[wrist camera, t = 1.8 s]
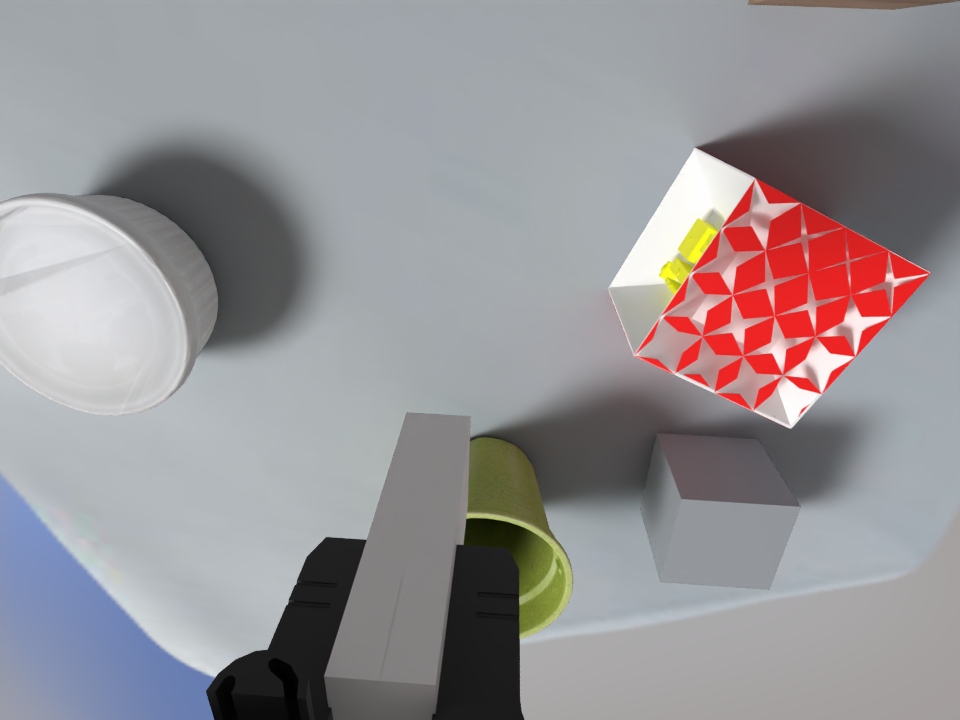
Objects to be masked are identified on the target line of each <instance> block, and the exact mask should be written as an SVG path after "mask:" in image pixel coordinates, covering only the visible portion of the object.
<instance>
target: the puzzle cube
mask: <svg viewBox="0 0 960 720" xmlns="http://www.w3.org/2000/svg"><path fill="white" fill-rule="evenodd" d="M930 274H931V273H930V271H928V270H926V269H924V268H922V267H920V266H918V265H917V264H915V263H913V262H911V261H909V260H907V259H905V258H904V257H902V256H900V255H898V254H896V253H894V252H892V251H891V250H888V249H887V248H885V247H883V246H881V245H879V244H877V243H875V242H874V241H872V240H870V239H868V238H866V237H864V236H863V235H861V234H859V233H857V232H855V231H853V230H851V229H850V228H848V227H845V226H843V225H842V224H840V223H838V222H837V221H835V220H833V219H831V218H829V217H827V216H825V215H824V214H822V213H820V212H818V211H816V210H814V209H812V208H811V207H809V206H807V205H805V204H803V203H801V202H799V201H797V200H795V199H793V198H791V197H790V196H788V195H786V194H784V193H782V192H780V191H779V190H777V189H775V188H773V187H771V186H769V185H767V184H766V183H764V182H762V181H760V180H758V179H756V178H754V177H752V176H750V175H748V174H746V173H744V172H742V171H740V170H738V169H737V168H735V167H733V166H731V165H729V164H727V163H725V162H723V161H721V160H719V159H717V158H715V157H713V156H711V155H709V154H707V153H705V152H703V151H701V150H699V149H697V148H694V150H693V152H692V154H691V155H690V157H689V158H688V160H687V162H686V163H685V165H684V167H683V168H682V170H681V171H680V173H679V175H678V176H677V178H676V180H675V181H674V183H673V184H672V186H671V188H670V189H669V191H668V192H667V194H666V196H665V197H664V199H663V201H662V202H661V204H660V205H659V207H658V209H657V210H656V212H655V214H654V215H653V217H652V218H651V220H650V222H649V223H648V225H647V226H646V228H645V230H644V231H643V233H642V235H641V236H640V238H639V239H638V241H637V243H636V244H635V246H634V248H633V249H632V251H631V252H630V254H629V256H628V257H627V259H626V260H625V262H624V264H623V265H622V267H621V269H620V270H619V272H618V273H617V275H616V277H615V278H614V280H613V282H612V283H611V285H610V286H609V288H608V292H609V295H610V297H611V300H612V302H613V305H614V307H615V310H616V313H617V315H618V318H619V320H620V323H621V325H622V328H623V331H624V333H625V336H626V338H627V340H628V343H629V346H630V348H631V351H632V353H633V356H635V357H637V358H639V359H641V360H643V361H645V362H648V363H650V364H652V365H654V366H656V367H658V368H660V369H663V370H665V371H667V372H669V373H671V374H674V375H676V376H678V377H680V378H682V379H685V380H687V381H689V382H691V383H693V384H695V385H698V386H700V387H702V388H704V389H706V390H708V391H710V392H713V393H715V394H717V395H719V396H721V397H723V398H725V399H728V400H730V401H732V402H734V403H736V404H738V405H740V406H743V407H745V408H747V409H749V410H751V411H753V412H755V413H757V414H759V415H761V416H763V417H765V418H767V419H770V420H772V421H774V422H776V423H778V424H781V425H783V426H785V427H787V428H790V429H791V428H792V427H793V426H794V425H795V424H796V423H797V422H798V421H799V420H800V418H801V417H802V416H803V415H804V414H805V413H806V412H807V411H808V409H809V408H810V407H811V406H812V405H813V404H814V403H815V402H816V401H817V399H818V398H819V397H820V396H821V395H822V394H823V393H824V392H825V391H826V389H827V388H828V387H829V386H830V385H831V384H832V383H833V382H834V381H835V379H836V378H837V377H838V376H839V375H840V374H841V373H842V372H843V371H844V369H845V368H846V367H847V366H848V365H849V364H850V363H851V362H852V360H853V359H854V358H855V357H856V356H857V355H858V354H859V353H860V352H861V351H862V349H863V348H864V347H865V346H866V345H867V344H868V343H869V342H870V341H871V339H872V338H873V337H874V336H875V335H876V334H877V333H878V332H879V331H880V329H881V328H882V327H883V326H884V325H885V324H886V323H887V322H888V320H889V319H890V318H891V317H892V316H893V315H894V314H895V313H896V312H897V310H898V309H899V308H900V307H901V306H902V305H903V304H904V303H905V302H906V300H907V299H908V298H909V297H910V296H911V295H912V294H913V293H914V292H915V290H916V289H917V288H918V287H919V286H920V285H921V284H922V283H923V282H924V280H925V279H926V278H927V277H928V276H929V275H930Z"/></svg>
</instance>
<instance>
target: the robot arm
mask: <svg viewBox="0 0 960 720" xmlns="http://www.w3.org/2000/svg"><path fill="white" fill-rule="evenodd" d="M470 419H471V416H457V415H440V414H424V413H406V417H405V420H404V423H403V426H402V429H401V433H400V436H399V439H398V442H397V445H396V449H395V452H394V455H393V458H392V461H391V464H390V468H389V471H388V474H387V477H386V480H385V484H384V487H383V490H382V493H381V496H380V500H379V503H378V506H377V509H376V512H375V516H374V519H373V522H372V525H371V528H370V531H369V535H368V538H367V540H360V539H346V538H331V537H326V538H325V539H324V540H323V541H322V542H321V543H320V544H319V545H318V546H317V547H316V548H315V549H314V550H313V551H312V552H311V553H310V554H309V555H308V556H307V558H306V560H305V563H304V565H303V568H302V570H301V572H300V575H299V577H298V579H297V584H296V585H295V586H294V589H293V591H292V594H291V596H290V598H289V603H288V605H286V608H285V610H284V612H283V615H282V617H281V619H280V622H279V624H278V627H277V629H276V631H275V634H274V636H273V638H272V641H271V643H270V645H269V648H268V650H261V651H255V652H252V653H250V654H248V655H245V656H243V657H241V658H238V659H236V660H235V661H233V662H232V663H231V664H230V665H228V666H227V667H226V668H225V669H223V670H222V671H221V672H220V673H219V674H218V675H217V676H216V678H215V679H214V681H213V682H212V684H211V685H210V686H209V688H208V689H207V691H206V693H207V696H208V700H209V703H210V706H211V709H212V713H213V716H214V720H524V717H523V715H522V711H521V704H520V622H519V568H518V566H517V564H516V562H515V560H514V558H513V556H512V554H511V552H510V550H509V548H501V547H486V546H472V545H463V544H464V535H465V526H466V517H467V508H468V481H469V450H470Z"/></svg>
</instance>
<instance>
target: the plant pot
mask: <svg viewBox="0 0 960 720" xmlns="http://www.w3.org/2000/svg"><path fill="white" fill-rule="evenodd" d="M463 545H472V546H486V547H501V548H509V550H510V552H511V554H512V556H513V558H514V560H515V562H516V564H517V566H518V568H519V622H520V639H522V638H525V637H527V636H530V635H533V634H535V633H537V632H539V631H540V630H542V629H544V628H546V627H547V626H548V625H550V624H551V623H552V622H553V621H554V620H555V619H557V618H558V617H559V615H560V614H561V613H562V611H563V610H564V609H565V607H566V605H567V603H568V602H569V599H570V596H571V593H572V588H573V574H572V568H571V564H570V561H569V558H568V556H567V554H566V552H565V550H564V549H563V547H562V546H561V545H560V543H559V542H558V541H557V540H556V539H555V537H554V535H553V533H552V532H551V530H550V529H549V525H548V522H547V518H546V514H545V511H544V507H543V503H542V500H541V496H540V492H539V488H538V483H537V480H536V476H535V472H534V469H533V466H532V464H531V463H530V461H529V460H528V458H527V456H526V455H525V453H524V452H523V451H522V450H520V449H519V448H518V447H516V446H515V445H513V444H511V443H509V442H506V441H504V440H500V439H496V438H476V439H474V440H472V441H470V450H469V481H468V508H467V517H466V526H465V535H464V544H463Z"/></svg>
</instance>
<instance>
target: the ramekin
mask: <svg viewBox="0 0 960 720" xmlns="http://www.w3.org/2000/svg"><path fill="white" fill-rule="evenodd" d="M217 312H218V294H217V287H216V284H215V281H214V276H213V274H212V272H211V270H210V267H209V264H208V263H207V261H206V260H205V258H204V256H203V254H202V252H201V251H200V250H199V249H198V247H197V246H196V244H195V243H194V242H193V240H192V239H191V238H190V237H189V236H188V235H187V234H186V233H185V232H184V231H183V230H182V229H180V228H179V227H178V226H177V225H176V224H175V223H174V222H172V221H171V220H170V219H168V218H167V217H166V216H164V215H162V214H160V213H159V212H157V211H156V210H154V209H152V208H149V207H147V206H145V205H144V204H142V203H137V202H135V201H133V200H131V199H128V198H121V197H117V196H106V195H81V196H71V195H65V194H56V193H37V194H29V195H23V196H19V197H15V198H11V199H8V200H6V201H3V202H0V363H1V364H2V365H3V366H4V367H5V368H6V369H7V370H8V371H9V372H10V373H12V374H13V375H14V376H15V377H16V378H18V379H19V380H20V381H22V382H23V383H24V384H26V385H27V386H28V387H30V388H32V389H33V390H35V391H36V392H38V393H40V394H42V395H43V396H45V397H47V398H49V399H51V400H53V401H55V402H57V403H60V404H62V405H64V406H67V407H70V408H73V409H76V410H80V411H83V412H88V413H93V414H98V415H104V416H115V415H130V414H135V413H139V412H144V411H147V410H149V409H152V408H154V407H156V406H158V405H159V404H161V403H163V402H164V401H165V400H167V399H168V398H169V397H170V396H172V395H173V394H174V393H175V392H176V391H177V390H178V389H179V388H180V387H181V385H182V384H183V383H184V382H185V381H186V379H187V378H188V376H189V374H190V372H191V370H192V368H193V366H194V363H195V360H196V358H197V356H198V355H199V353H200V352H201V350H202V349H203V347H204V346H205V344H206V343H207V341H208V340H209V338H210V335H211V333H212V332H213V330H214V324H215V323H216V320H217Z"/></svg>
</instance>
